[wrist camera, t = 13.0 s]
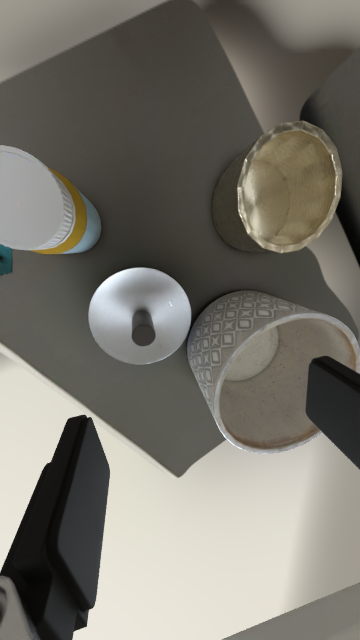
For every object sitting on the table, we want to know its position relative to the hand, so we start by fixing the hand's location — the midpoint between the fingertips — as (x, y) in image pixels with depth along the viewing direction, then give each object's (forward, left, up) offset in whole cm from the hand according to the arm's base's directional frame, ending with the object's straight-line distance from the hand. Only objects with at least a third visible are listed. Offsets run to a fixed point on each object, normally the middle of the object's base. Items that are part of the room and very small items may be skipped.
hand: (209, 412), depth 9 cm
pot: (-10, +16, -26) cm, 32 cm away
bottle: (-11, -9, -26) cm, 29 cm away
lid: (+2, -3, -22) cm, 22 cm away
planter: (+11, +12, -26) cm, 31 cm away
